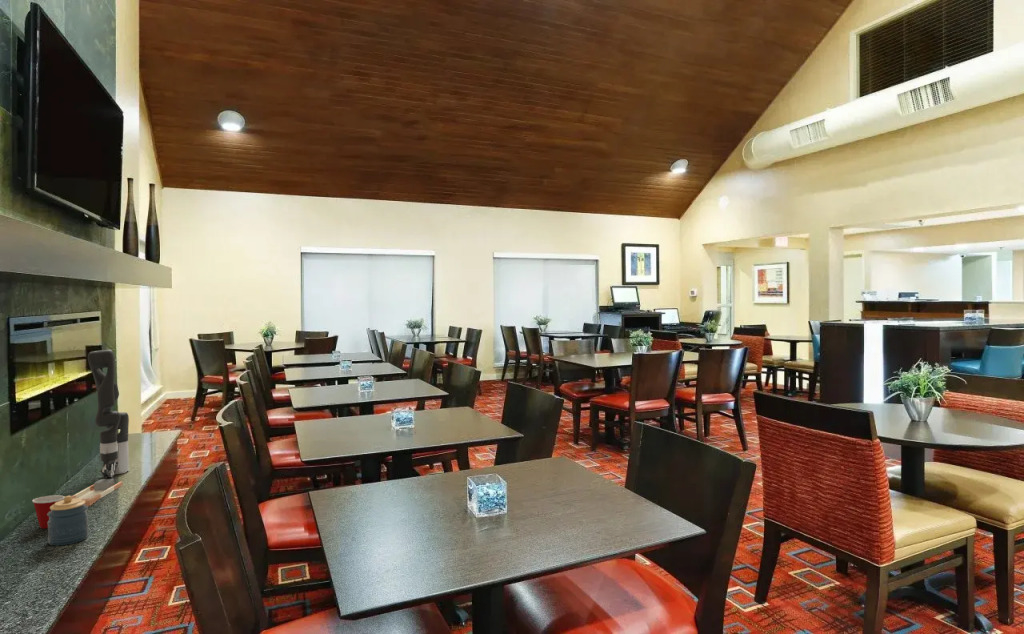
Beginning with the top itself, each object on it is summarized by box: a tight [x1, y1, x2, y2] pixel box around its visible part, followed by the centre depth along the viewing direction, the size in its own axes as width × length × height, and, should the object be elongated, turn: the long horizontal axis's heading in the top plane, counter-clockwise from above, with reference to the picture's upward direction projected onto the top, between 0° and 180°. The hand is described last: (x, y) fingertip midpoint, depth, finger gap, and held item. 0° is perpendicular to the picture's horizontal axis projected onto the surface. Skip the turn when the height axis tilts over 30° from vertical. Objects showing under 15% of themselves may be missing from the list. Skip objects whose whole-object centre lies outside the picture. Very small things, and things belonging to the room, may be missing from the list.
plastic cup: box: [31, 494, 66, 529], centre depth 246 cm, size 11×11×12 cm
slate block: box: [94, 478, 115, 491], centre depth 293 cm, size 6×6×4 cm
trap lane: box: [70, 481, 124, 507], centre depth 284 cm, size 29×12×2 cm, turn 8°
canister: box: [47, 495, 90, 546], centre depth 232 cm, size 13×13×18 cm
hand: (110, 483), depth 299 cm, fingers closed
